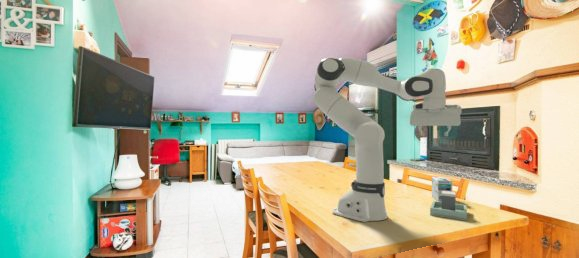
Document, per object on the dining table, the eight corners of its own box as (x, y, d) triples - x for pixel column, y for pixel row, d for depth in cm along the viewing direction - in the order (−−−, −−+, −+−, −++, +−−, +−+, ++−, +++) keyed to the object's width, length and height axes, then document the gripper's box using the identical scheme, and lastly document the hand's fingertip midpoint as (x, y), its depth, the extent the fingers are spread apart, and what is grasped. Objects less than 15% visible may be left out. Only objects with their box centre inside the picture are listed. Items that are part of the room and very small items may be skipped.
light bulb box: (452, 202, 134) (452, 180, 134) (437, 202, 136) (437, 180, 136) (444, 197, 145) (445, 176, 145) (431, 196, 146) (431, 176, 146)
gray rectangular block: (441, 211, 117) (441, 193, 117) (442, 208, 121) (442, 190, 121) (455, 213, 114) (455, 194, 114) (455, 210, 119) (455, 192, 119)
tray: (430, 214, 116) (430, 207, 116) (432, 207, 127) (432, 200, 127) (466, 220, 109) (466, 213, 109) (466, 212, 120) (466, 205, 120)
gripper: (461, 104, 120) (461, 136, 120) (411, 106, 131) (411, 135, 131) (461, 103, 115) (461, 136, 115) (409, 105, 126) (408, 135, 126)
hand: (434, 136), depth 123 cm, fingers open, 8 cm apart
